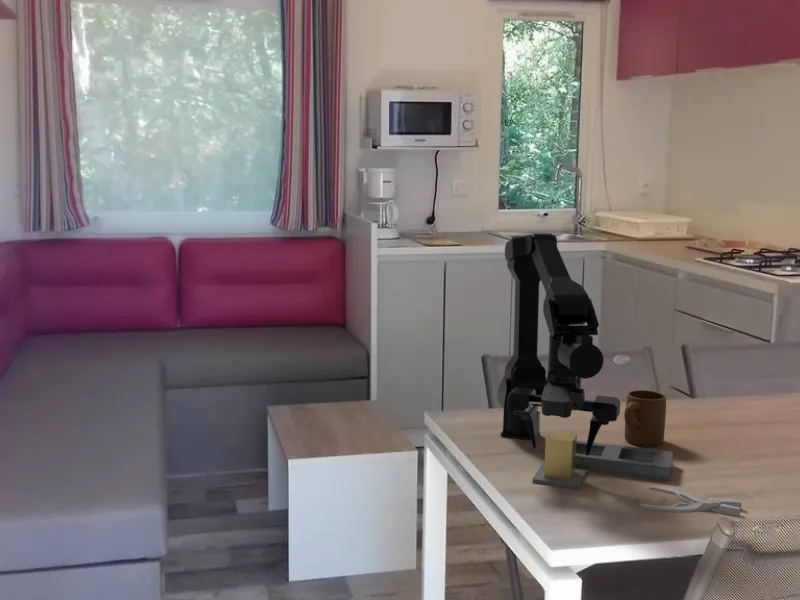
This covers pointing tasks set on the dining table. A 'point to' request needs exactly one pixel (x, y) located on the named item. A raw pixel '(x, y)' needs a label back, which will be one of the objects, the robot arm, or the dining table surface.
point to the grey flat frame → (624, 460)
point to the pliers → (697, 503)
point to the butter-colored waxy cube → (560, 455)
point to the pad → (574, 482)
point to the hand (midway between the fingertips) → (560, 451)
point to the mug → (645, 418)
